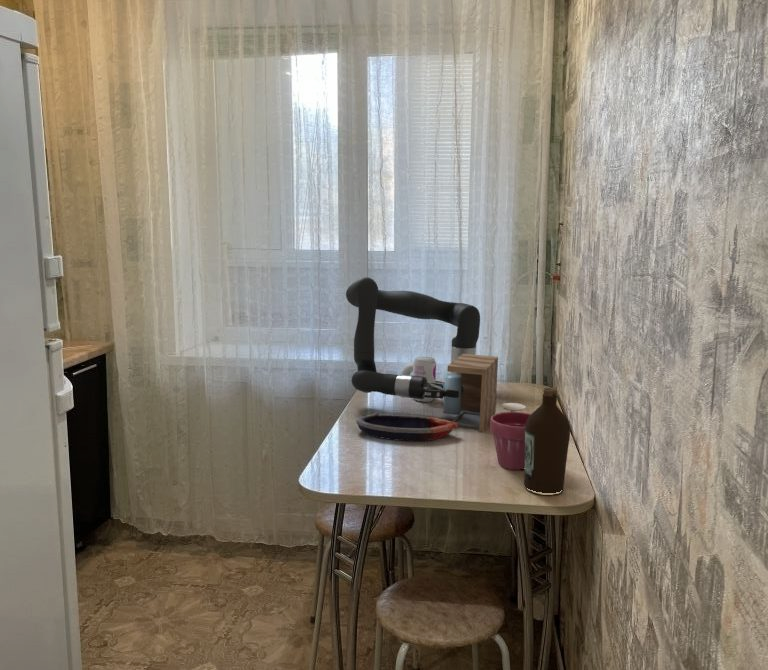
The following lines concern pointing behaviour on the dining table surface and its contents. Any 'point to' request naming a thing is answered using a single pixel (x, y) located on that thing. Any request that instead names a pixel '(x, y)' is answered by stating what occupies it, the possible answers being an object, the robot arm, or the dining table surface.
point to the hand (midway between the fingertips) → (460, 392)
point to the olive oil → (546, 446)
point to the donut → (407, 369)
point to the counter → (477, 385)
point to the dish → (405, 426)
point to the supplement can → (425, 371)
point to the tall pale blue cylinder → (450, 403)
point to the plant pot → (509, 438)
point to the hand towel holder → (513, 407)
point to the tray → (468, 419)
